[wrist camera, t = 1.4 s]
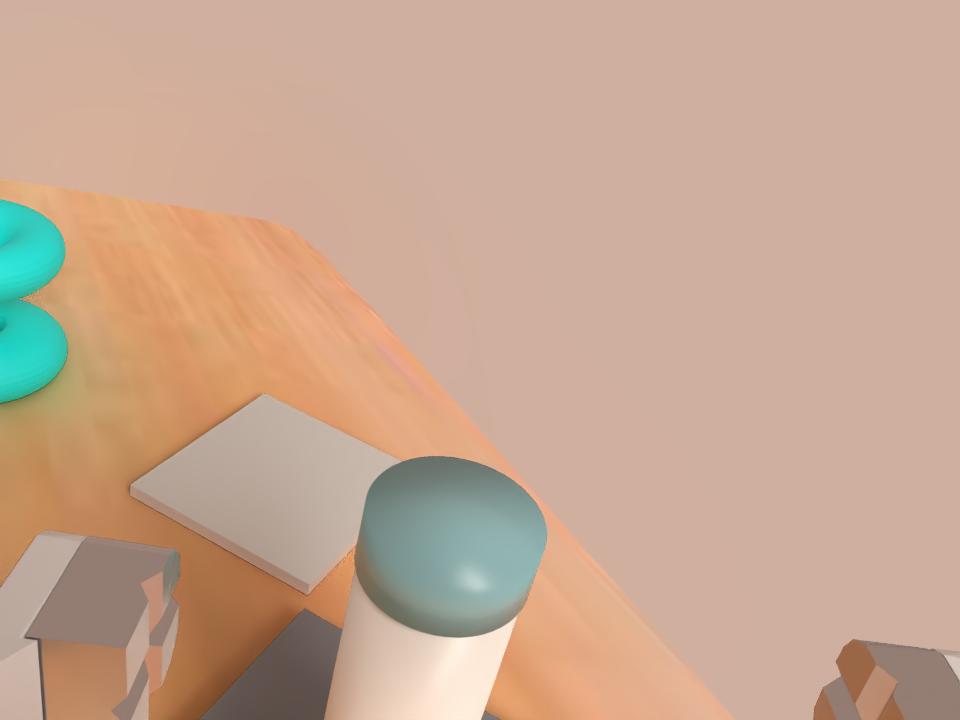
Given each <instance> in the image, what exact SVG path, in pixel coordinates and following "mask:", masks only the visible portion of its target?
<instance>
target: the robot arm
mask: <svg viewBox="0 0 960 720" xmlns="http://www.w3.org/2000/svg"><path fill="white" fill-rule="evenodd" d="M179 577H180V554H179V553H178V551H177V550H176V549H171V548H165V547H158V546H152V545H146V544H139V543H133V542H126V541H120V540H114V539H107V538H101V537H94V536H90V537H87V536H82V535H76V534H69V533H63V532H57V531H51V530H45V531H43V532H42V533H40V534H39V535H37V536H36V537H34V539H33V540H32V541H31V543H30V544H29V546H28V547H27V549H26V550H25V552H24V553H23V554H22V556H21V557H20V559H19V560H18V562H17V563H16V565H15V566H14V567H13V569H12V570H11V572H10V573H9V575H8V576H7V578H6V579H5V580H4V582H3V583H2V585H1V586H0V720H148V713H149V695H150V694H152V693H153V692H155V691H156V690H158V689H159V688H160V687H161V686H162V684H163V681H164V679H165V676H166V673H167V671H168V668H169V665H170V661H171V657H172V653H173V650H174V646H175V642H176V636H177V628H178V620H179V604H178V603H177V602H176V601H175V599H174V598H173V597H172V596H171V595H172V593H173V591H174V588H175V586H176V584H177V581H178V579H179ZM836 664H837V666H838V669H839V671H840V674H841V677H839V678H837V679H836V680H834V681H833V682H831V683H829V684H828V685H826V686H825V687H823V689H822V691H821V693H820V696H819V698H818V700H817V703H816V705H815V707H814V718H813V720H960V652H958V651H949V650H940V649H925V648H919V647H911V646H903V645H895V644H887V643H878V642H871V641H863V640H862V641H861V640H855V639H853V640H852V641H850V642H849V643H848V644H847V645H845V646H844V647H843V649H842V651H841V653H840V655H839V657H838V658H837V660H836Z"/></svg>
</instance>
